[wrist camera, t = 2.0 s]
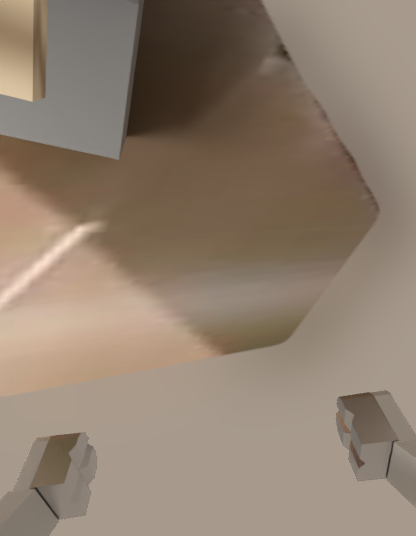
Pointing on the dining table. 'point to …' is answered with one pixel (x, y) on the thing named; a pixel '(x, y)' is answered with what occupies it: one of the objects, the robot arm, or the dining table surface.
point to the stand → (82, 78)
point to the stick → (23, 48)
